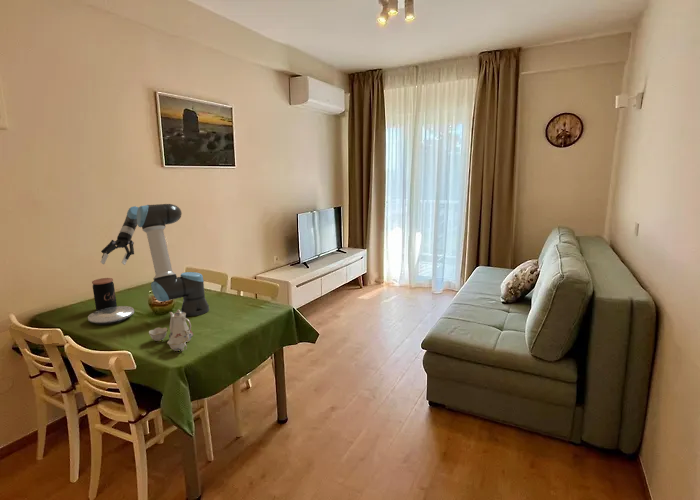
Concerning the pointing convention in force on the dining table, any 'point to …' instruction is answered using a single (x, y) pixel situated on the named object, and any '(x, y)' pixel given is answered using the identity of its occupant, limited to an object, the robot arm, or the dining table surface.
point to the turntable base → (111, 322)
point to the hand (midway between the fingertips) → (112, 263)
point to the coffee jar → (104, 293)
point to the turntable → (110, 314)
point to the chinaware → (175, 331)
